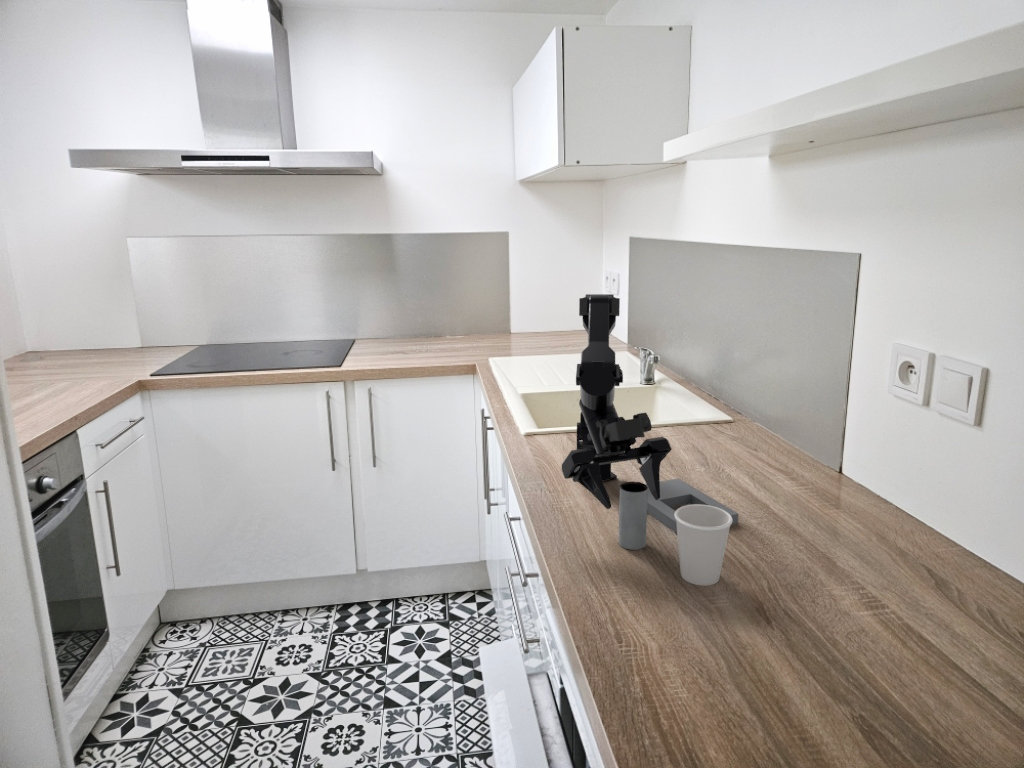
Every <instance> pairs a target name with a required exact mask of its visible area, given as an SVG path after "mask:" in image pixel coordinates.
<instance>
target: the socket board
mask: <svg viewBox="0 0 1024 768" xmlns="http://www.w3.org/2000/svg"><path fill="white" fill-rule="evenodd" d="M644 484H645V485H646V486H647V484H646V483H644ZM647 487H648V486H647ZM693 504H701V505H709V506H714V507H717V508H720V509H722V510H724V511H726V512H727V513H729V514H730V515H731V517H732V524H731V525H730V527H731V526H734V525H738V524H739V512H737V511H735V510H733V509H731V508H729V506H727V505H725V504H723V503H722V502H719V501H718V500H716V499H714V498H713V497H711V496H709V495H707V494H706V493H704V492H702V491H701V490H699V489H698V488H696V487H694V486H693V485H690V484H689V483H688V482H686V481H684V480H683V479H680V478H679V477H678V478H677V477H676V478H673V479H668V480H661V481H660V498H659V499H658V500H655V498H654V497H653V495H652V494H651V492H650V490H649V488H648V500H647V514H649V515H650V516H652V517H653V518H655V519H656V520H657V521H659V522H660V523H661V524H663V525H664V526H665V527H667V528H668V529H670V530H671V531H672V532H674V533H675V534H677V524H676V519H675V516H674V514H675V511H676V510H675V509H673V508H675V507H676V508H677V507H683V506H686V505H693Z"/></svg>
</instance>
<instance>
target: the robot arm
mask: <svg viewBox="0 0 1024 768" xmlns="http://www.w3.org/2000/svg"><path fill="white" fill-rule="evenodd" d="M614 296H615V295H614V294H612V293H611V294H607V293H604V294H603V293H602V294H601V293H600V294H596V293H595V294H593V293H592V294H589V293H587V294H585V297H581V298H579V300H578V301H579V305H578V306H579V307H578V308H579V309H578V311H579V312H578V315H579V317H582V327H583V328H584V330H585V331H586V333H587V347H585V348H584V349H583V350H582V351H581V353H580V363H577V364H576V370H575V371H576V372H575V374H576V375H575V386H579V387H580V389H579V390H580V399H579V401H578V406H579V408H580V410H581V412H580V418H579V419H580V421H579V422H576V449H571V450H570V451H569V453H568V455H567V456H566V458H565V459H564V460H563V462H562V464H561V472H562V475H563V477H564V479H565V480H569V479H572V482H573V483H578V484H580V485H581V486H582V487H584V488H585V489H586V490H588V491H589V492H590V493H591V494H592V495H593V496H594V497H595V498H596V499H597V500H598V501H599V502H600V503H601V505H602V506H604V508H606V509H607V510H610V509H611V508H612V502H611V499H610V496H609V494H608V491H607V488H606V486H605V484H604V482H605V481H609V480H611V481H612V480H616V479H618V475H617V474H616V473H613V472H612V464H614V463H620V462H627V461H633V460H636V461H637V463H638V464H639V465H640V467H639V468H638V470H639V472H640V473H641V476H642V478H643V480H644V481H645V484H647V486H648V488H649V490H650V492H651V494H652V495H653V497H654V498H655V500H658V499H659V498H660V482H661V481H660V480H661V479H660V470H661V469H660V468H661V462H662V461H663V460H664V459H665V458H666V457H667V455H668V454H669V453H670V452H671V451H672V450H673V448H672V446H671V443H670V441H669V440H668V439H667V438H666V437H664V436H660V437H659V436H658V437H657V436H656V437H652V438H645V436H646V435H645V433H647V432H650V431H652V423H651V419H650V417H649V415H648V413H647V412H639V413H636V414H634V415H632V419H625V418H624V416H619V415H618V412H617V408H616V407H615V405H614V402H615V401H614V400H615V389H616V388H615V387H620V385H621V384H623V382H624V377H623V376H624V373H623V369H621V366H620V364H619V363H617V364H616V352H615V350H613V349H612V347H611V346H610V335H611V333H612V331H613V330H614V329H615V328H616V321H617V317H620V306H621V305H620V302H621V298H620V297H619V298H618V297H614ZM620 383H621V384H620ZM638 438H645V440H644V441H643V442H642V443H641V445H640V446H638V447H631V446H633V445H635V443H637V440H636V439H638Z"/></svg>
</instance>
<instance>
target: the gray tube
mask: <svg viewBox="0 0 1024 768" xmlns="http://www.w3.org/2000/svg"><path fill="white" fill-rule="evenodd" d="M645 484H646V483H643V482H640V481H639V482H638V481H626V482H623V483H621V484H620V485H619V506H618V508H619V509H618V511H619V513H618V545H619V546H621V548H624V549H626V550H631V551H633V550H635V551H637V550H641V549H643V548H645V547H646V545H647V544H646V543H647V524H648V523H647V522H648V513H647V500H648V487H647V486H646V485H645Z"/></svg>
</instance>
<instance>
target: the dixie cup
mask: <svg viewBox="0 0 1024 768" xmlns="http://www.w3.org/2000/svg"><path fill="white" fill-rule="evenodd" d="M674 516H675V519H676V524H677V533H676V534H677V542H678V543H677V547H678V556H679V557H678V560H679V568H680V576H681V579H683V580H684V581H685V582H687V583H690V584H692V585H695V586H701V587H702V586H705V587H706V586H707V587H708V586H712V585H714V584H717V583H718V582H719V580H720V577H721V572H722V567H723V561H724V556H725V554H726V553H725V551H726V546H727V542H728V538H729V533H730V528H731V526H732V525H731V524H732V517H731V515H730V514H729V513H727V512H726V511H724V510H722V509H720V508H717V507H714V506H709V505H701V504H693V505H691V504H687V505H682V506H679V507H678V508H677V509H676V510H675V514H674ZM730 525H731V526H730Z"/></svg>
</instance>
